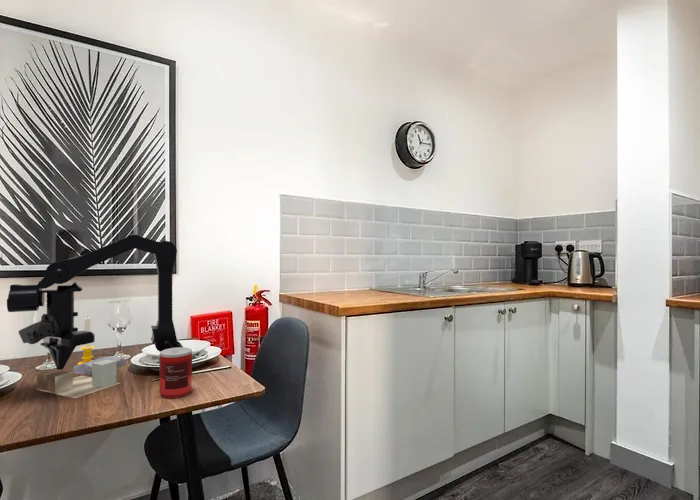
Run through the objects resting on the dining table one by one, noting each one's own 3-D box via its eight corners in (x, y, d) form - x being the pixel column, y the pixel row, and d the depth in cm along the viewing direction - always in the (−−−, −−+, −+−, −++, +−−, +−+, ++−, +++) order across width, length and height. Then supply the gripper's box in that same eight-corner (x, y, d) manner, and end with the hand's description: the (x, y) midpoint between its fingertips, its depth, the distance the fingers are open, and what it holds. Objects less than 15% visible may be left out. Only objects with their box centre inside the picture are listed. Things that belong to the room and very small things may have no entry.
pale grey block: (116, 383, 106) (116, 361, 106) (102, 387, 102) (102, 365, 102) (106, 381, 107) (106, 359, 107) (91, 385, 104) (92, 363, 104)
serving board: (120, 385, 106) (120, 382, 106) (74, 401, 95) (74, 398, 95) (82, 378, 112) (82, 375, 112) (35, 392, 101) (35, 389, 101)
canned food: (178, 386, 106) (178, 345, 106) (198, 391, 102) (198, 349, 102) (152, 395, 99) (152, 352, 99) (173, 401, 96) (173, 356, 96)
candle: (82, 367, 123) (82, 318, 123) (74, 364, 126) (74, 316, 126) (100, 363, 127) (100, 315, 127) (92, 360, 130) (92, 314, 130)
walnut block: (73, 372, 102) (53, 368, 105) (56, 377, 98) (37, 373, 102) (72, 387, 102) (53, 383, 105) (56, 392, 98) (37, 388, 102)
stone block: (68, 383, 114) (97, 378, 112) (66, 366, 114) (95, 361, 112) (102, 372, 126) (128, 367, 124) (100, 357, 126) (126, 352, 124)
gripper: (2, 311, 97) (2, 373, 97) (48, 316, 90) (48, 383, 90) (51, 305, 108) (50, 362, 108) (96, 309, 100) (95, 370, 100)
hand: (60, 369), depth 101 cm, fingers closed
